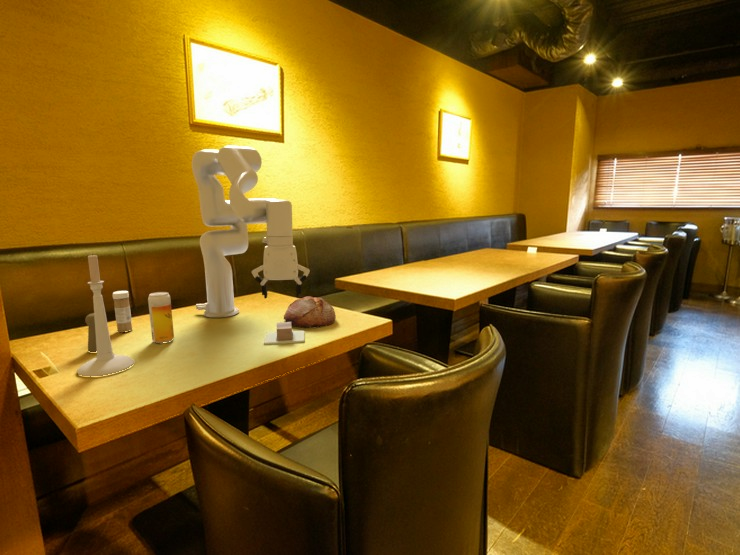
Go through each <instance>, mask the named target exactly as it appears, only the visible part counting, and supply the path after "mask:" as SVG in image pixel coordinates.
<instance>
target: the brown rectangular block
mask: <svg viewBox="0 0 740 555" xmlns="http://www.w3.org/2000/svg"><path fill="white" fill-rule="evenodd" d="M292 327H293V326H292V325H291V322H286V321H283V322H281V321H280V322H276V332H277V340H288V339H292V331H293V328H292Z"/></svg>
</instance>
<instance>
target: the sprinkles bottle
mask: <svg viewBox="0 0 740 555" xmlns="http://www.w3.org/2000/svg"><path fill="white" fill-rule="evenodd" d="M129 295H130V294H129V291H128V290H117V291H113V292H112V300H113V305H114V313H115V314H114V315H115V322H116V328H117V330H116V331H118V332H117V333H119V332H125V331H129V330H132V328H133V324H132V314H131V306H130V300H129V299H130V298H129V297H130V296H129ZM132 331H133V330H132ZM125 333H126V332H125Z"/></svg>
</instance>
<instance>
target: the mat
mask: <svg viewBox="0 0 740 555" xmlns="http://www.w3.org/2000/svg"><path fill="white" fill-rule="evenodd" d="M299 343H305V330H292V339H288V340H277V331H273V332H271V331H270V332H266V334H265V337H264V341H263V345H265V346H266V345H268V346H269V345H281V344H282V345H283V344H299Z"/></svg>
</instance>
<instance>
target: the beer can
mask: <svg viewBox="0 0 740 555" xmlns="http://www.w3.org/2000/svg"><path fill="white" fill-rule="evenodd" d="M171 300H172V299H171V295H170V294H169V292H167V291H157V292H151V293H149V295H148V297H147V302H148V310H149V322H150V330H151V341H152V342H153V343H155V342H156V343H163V342H168V343H170V342H169V341H171V340H172V339H174V338H175V334H174V332H175V331H174V323H173V321H174V320H173V311H172V301H171ZM172 341H173V340H172ZM172 341H171V342H172ZM156 343H155V344H156Z"/></svg>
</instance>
